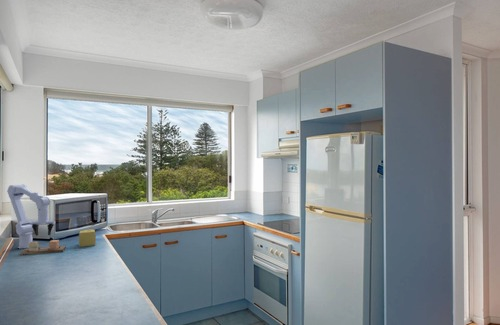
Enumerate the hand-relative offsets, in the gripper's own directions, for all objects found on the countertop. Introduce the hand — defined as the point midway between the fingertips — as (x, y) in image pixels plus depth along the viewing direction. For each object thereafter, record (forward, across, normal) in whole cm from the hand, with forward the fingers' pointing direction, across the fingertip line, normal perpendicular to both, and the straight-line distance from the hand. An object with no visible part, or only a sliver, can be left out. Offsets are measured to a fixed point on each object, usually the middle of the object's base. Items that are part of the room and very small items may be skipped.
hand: (43, 235), depth 235 cm
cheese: (+10, -26, -8) cm, 29 cm away
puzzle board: (+9, -3, +7) cm, 12 cm away
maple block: (+10, +3, +8) cm, 12 cm away
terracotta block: (+10, -9, +6) cm, 14 cm away
